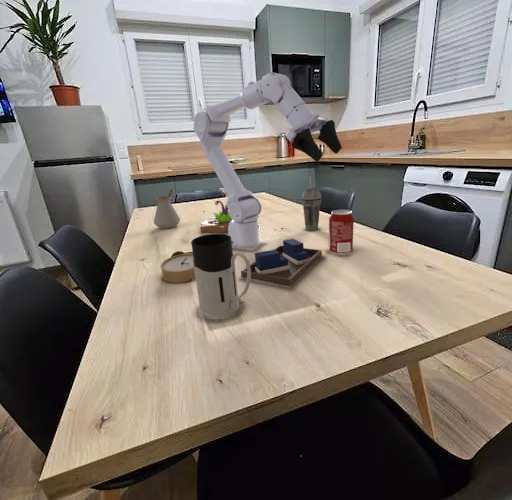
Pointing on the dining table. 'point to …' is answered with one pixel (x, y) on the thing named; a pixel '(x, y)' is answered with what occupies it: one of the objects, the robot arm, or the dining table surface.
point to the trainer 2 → (295, 251)
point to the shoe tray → (286, 275)
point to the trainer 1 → (270, 262)
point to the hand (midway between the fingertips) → (329, 154)
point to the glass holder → (217, 275)
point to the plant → (217, 221)
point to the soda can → (341, 231)
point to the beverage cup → (311, 207)
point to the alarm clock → (178, 267)
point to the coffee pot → (166, 213)
